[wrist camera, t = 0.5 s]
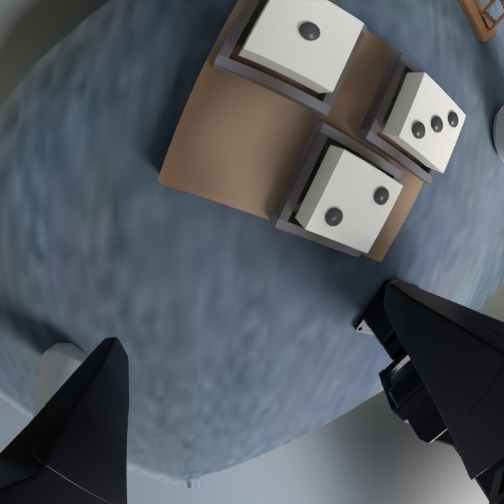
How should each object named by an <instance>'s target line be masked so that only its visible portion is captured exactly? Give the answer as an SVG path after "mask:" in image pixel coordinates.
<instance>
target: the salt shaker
mask: <svg viewBox="0 0 504 504" xmlns="http://www.w3.org/2000/svg"><path fill="white" fill-rule="evenodd" d="M86 358H87V356H86V353H85V352H83V351H82V350H80V349H79V348H78V347H76V346H75V345H73V344H72V343H56V344H54V345H53V346H52V347H50V348H49V349H48V350H46V351H45V353H44V354H43V355H42V356H41V358H40V359H39V365H38V373H37V380H36V389H35V400H34V414H33V418H34V417H35V416H36V415H37V414H38V413H39V411H40V410H41V409H42V408H43V407H45V404H46V403H47V402H48V401H49V400H50V399H51V397H52V396H53V395H54V394H55V393H56V392H57V391H58V389H59V388H60V387H61V386H62V385H63V384H64V383H65V382H66V380H67V379H68V378H69V377H70V376H71V375H72V374H73V373H74V371H75V370H76V369H77V368H78V367H79V366H80V365H81V364H82V363H83V362H84V360H85V359H86Z"/></svg>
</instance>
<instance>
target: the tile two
mask: <svg viewBox="0 0 504 504" xmlns="http://www.w3.org/2000/svg"><path fill="white" fill-rule="evenodd" d="M402 188H403V185H401V184H400V183H398V182H397V181H395V180H394V179H392V178H391V177H389V176H387V175H386V174H384V173H383V172H381V171H380V170H378V169H376V168H375V167H373V166H372V165H370V164H368V163H367V162H365V161H363V160H362V159H360V158H358V157H357V156H355V155H353V154H351V153H350V152H348V151H346V150H344V149H342V148H339V147H335V146H332V145H330V146H329V148H328V150H327V153H326V155H325V157H324V159H323V161H322V163H321V165H320V167H319V169H318V172H317V174H316V176H315V178H314V180H313V182H312V184H311V186H310V188H309V190H308V192H307V194H306V197H305V199H304V201H303V203H302V205H301V207H300V209H299V211H298V213H297V215H296V217H295V218H296V219H297V220H298V222H299V223H300V224H301V225H302V226H303V227H304V229H306V230H308V231H311V232H314V233H316V234H319V235H322V236H324V237H327V238H329V239H332V240H335V241H337V242H340V243H342V244H345V245H347V246H350V247H352V248H355V249H357V250H360V251H362V252H365V253H367V254H368V252H369V250H370V248H371V247H372V245H373V243H374V241H375V239H376V238H377V236H378V234H379V232H380V230H381V228H382V227H383V225H384V223H385V221H386V219H387V217H388V215H389V213H390V211H391V210H392V208H393V206H394V204H395V202H396V200H397V198H398V196H399V194H400V192H401V190H402Z"/></svg>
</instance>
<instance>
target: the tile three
mask: <svg viewBox="0 0 504 504" xmlns="http://www.w3.org/2000/svg"><path fill="white" fill-rule="evenodd" d="M465 116H466V115H465V114H464V113H463V112H462V111H461V109H460V108H459V107H458V106H457V105H456V104H455V103H454V102H453V100H452V99H451V98H450V97H449V96H448V95H447V94H446V93H445V92H444V91H443V90H442V89H441V88H440V87H439V86H438V85H437V84H436V83H435V82H434V81H433V80H432V79H431V78H430V77H429V76H428V75H427V74H426V73H425V72H418V73H407V75H406V78H405V80H404V83H403V85H402V87H401V90H400V92H399V95H398V97H397V100H396V102H395V104H394V107H393V109H392V111H391V114H390V116H389V118H388V121H387V123H386V125H385V127H384V130H383V132H382V133H383V134H385V135H386V136H388V137H389V138H390V139H392V140H393V141H395V142H396V143H397V144H399V145H400V146H401V147H403V148H404V149H405V150H407V151H408V152H409V153H410V154H412V155H413V156H414V157H415V158H417V159H418V160H419V161H420V162H422V163H423V164H424V165H425V166H427V167H429V168H431V169H434V170H436V171H439V172H441V173H444V170H445V168H446V166H447V163H448V161H449V159H450V156H451V154H452V151H453V149H454V146H455V144H456V141H457V139H458V136H459V133H460V131H461V128H462V125H463V122H464V119H465Z"/></svg>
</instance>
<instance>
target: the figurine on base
mask: <svg viewBox="0 0 504 504" xmlns="http://www.w3.org/2000/svg"><path fill="white" fill-rule="evenodd" d="M495 1H496V0H490V2H489V4H488V5H487V6H486V7H485V8H484V6H483V5H482V3H481V1H480V0H458V2H459V4H460V5H461V7H462V9H463V11H464V13H465V15H466V16H467V18H468V20H469V22H470V24H471V26H472V28H473V31H474V33H475V35H476V37H477V39H478V41H479V42H485V41H487V40H489V39H490V38H492V37H494V36H495V35H496V32H495V29H494V27H495V26H496V25H497V24H498V23H499V22H500V21H501V20H502V19H503V18H504V13H503V14H502V15H501V16H500V17H499V19H498V20H497V21H495V19H493V18H492V16H489V13H488V12H486V11H487V10H488V9H489V8H490V7H491V5H492V4H493V3H494V2H495ZM500 1H501V2H502V3H501V4H502V5H503V8H504V0H500ZM491 22H492V23H491ZM492 24H493V25H492Z"/></svg>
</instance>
